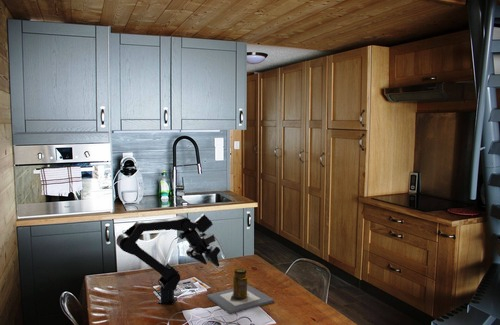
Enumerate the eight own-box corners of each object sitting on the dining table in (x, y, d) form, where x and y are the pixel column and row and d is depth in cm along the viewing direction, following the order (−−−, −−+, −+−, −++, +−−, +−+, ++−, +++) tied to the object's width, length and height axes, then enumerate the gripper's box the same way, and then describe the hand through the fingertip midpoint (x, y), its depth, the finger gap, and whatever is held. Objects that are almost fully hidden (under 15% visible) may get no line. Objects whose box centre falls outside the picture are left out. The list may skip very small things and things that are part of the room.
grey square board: (230, 314, 167) (230, 311, 167) (206, 297, 184) (206, 294, 184) (273, 301, 179) (273, 299, 179) (248, 286, 196) (248, 284, 196)
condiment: (248, 294, 184) (248, 267, 183) (247, 302, 176) (247, 274, 175) (232, 293, 185) (232, 267, 184) (230, 301, 177) (230, 274, 176)
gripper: (218, 228, 181) (235, 254, 187) (193, 226, 195) (210, 250, 200) (202, 246, 175) (221, 272, 180) (178, 243, 188) (195, 267, 194)
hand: (212, 265), depth 189 cm, fingers open, 9 cm apart
